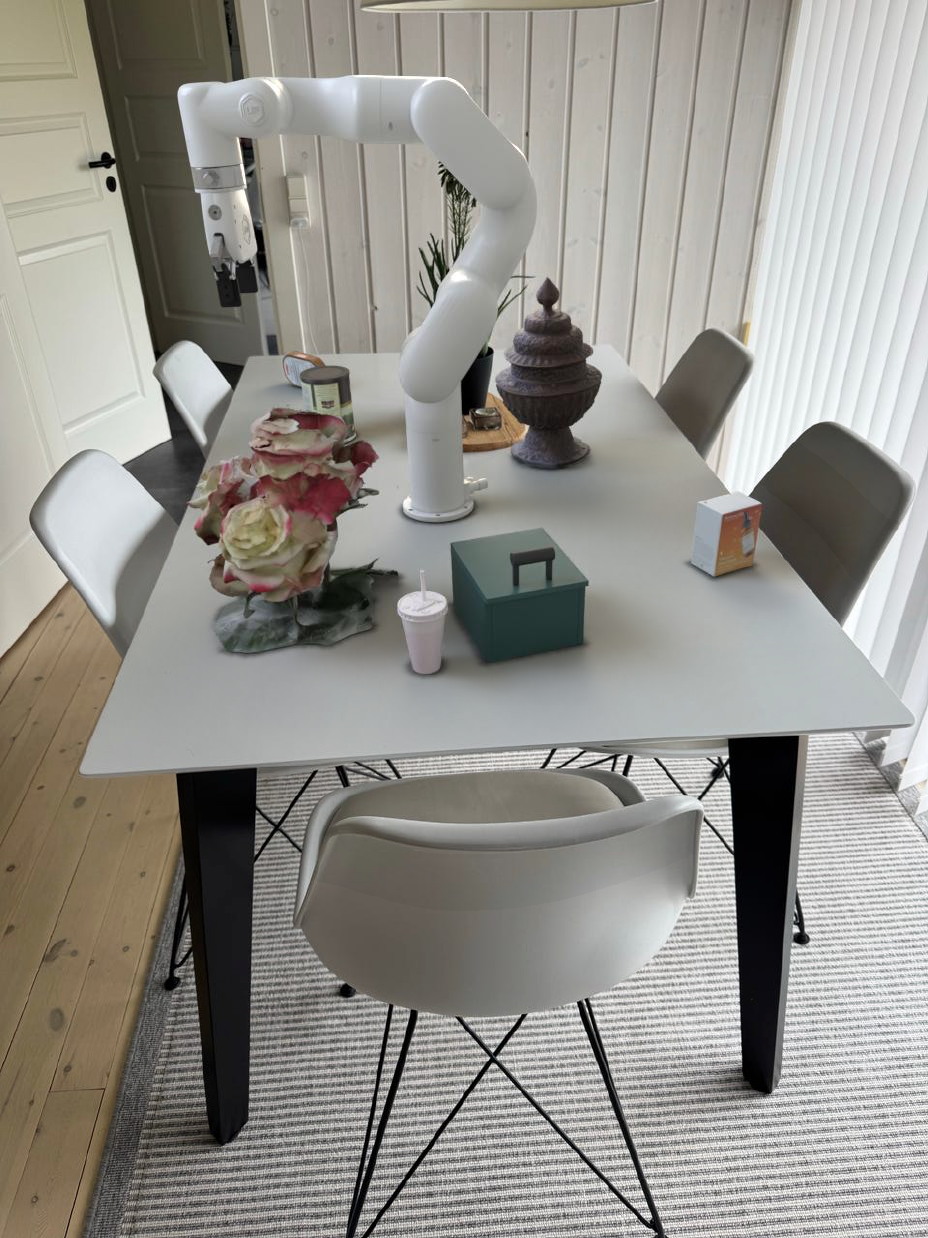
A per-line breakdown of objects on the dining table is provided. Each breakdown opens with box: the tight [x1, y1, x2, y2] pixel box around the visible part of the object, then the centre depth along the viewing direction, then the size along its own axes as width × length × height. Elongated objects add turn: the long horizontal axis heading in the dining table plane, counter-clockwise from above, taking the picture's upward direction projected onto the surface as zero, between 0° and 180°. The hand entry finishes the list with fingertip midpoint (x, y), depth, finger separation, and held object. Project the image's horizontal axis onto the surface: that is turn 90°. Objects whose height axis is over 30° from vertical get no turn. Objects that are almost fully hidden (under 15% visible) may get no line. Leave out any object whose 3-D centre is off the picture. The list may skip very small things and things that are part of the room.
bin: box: [450, 548, 586, 664], centre depth 125 cm, size 16×14×9 cm
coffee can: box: [300, 365, 357, 444], centre depth 190 cm, size 10×10×14 cm
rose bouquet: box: [185, 404, 400, 654], centre depth 124 cm, size 26×29×30 cm
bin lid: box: [450, 527, 590, 604], centre depth 120 cm, size 17×14×5 cm
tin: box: [282, 350, 327, 389], centre depth 223 cm, size 15×3×8 cm, turn 49°
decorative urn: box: [494, 276, 603, 470], centre depth 171 cm, size 20×20×35 cm
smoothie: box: [397, 569, 449, 675], centre depth 115 cm, size 6×6×14 cm
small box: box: [690, 490, 763, 578], centre depth 137 cm, size 8×6×10 cm
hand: (240, 299), depth 142 cm, fingers open, 9 cm apart
